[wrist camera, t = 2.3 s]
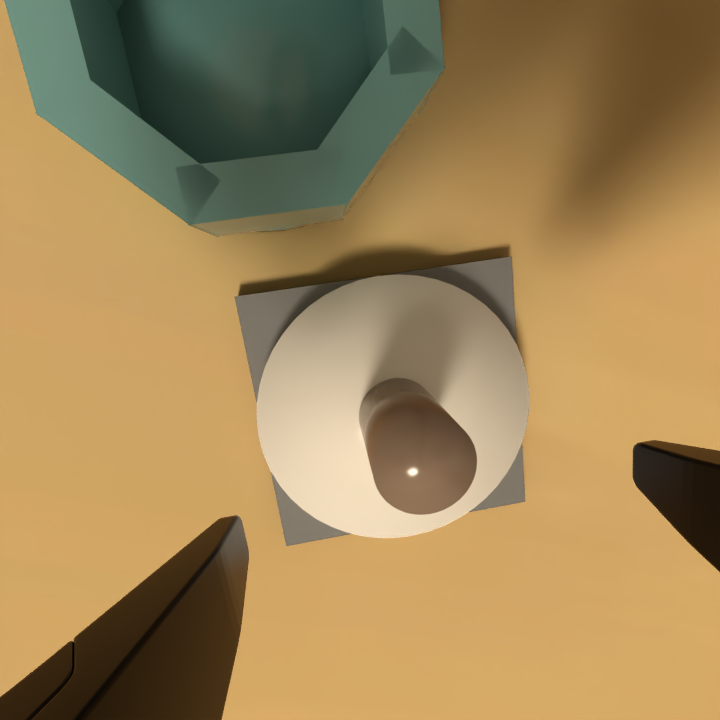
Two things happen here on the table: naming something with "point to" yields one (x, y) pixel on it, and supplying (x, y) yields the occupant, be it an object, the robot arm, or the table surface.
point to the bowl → (234, 97)
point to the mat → (280, 308)
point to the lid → (392, 406)
